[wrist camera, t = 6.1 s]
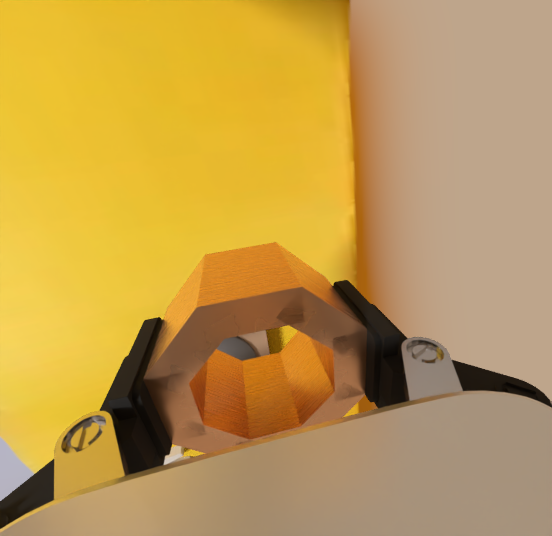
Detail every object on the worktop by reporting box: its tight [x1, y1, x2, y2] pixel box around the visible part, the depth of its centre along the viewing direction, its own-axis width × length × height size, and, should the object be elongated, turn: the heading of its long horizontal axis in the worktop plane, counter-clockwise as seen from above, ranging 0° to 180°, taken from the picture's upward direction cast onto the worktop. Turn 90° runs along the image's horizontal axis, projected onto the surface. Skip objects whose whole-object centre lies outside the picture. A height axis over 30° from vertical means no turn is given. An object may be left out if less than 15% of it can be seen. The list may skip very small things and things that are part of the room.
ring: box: [143, 242, 367, 453], centre depth 10 cm, size 7×7×4 cm
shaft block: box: [217, 330, 270, 361], centre depth 27 cm, size 12×12×10 cm
